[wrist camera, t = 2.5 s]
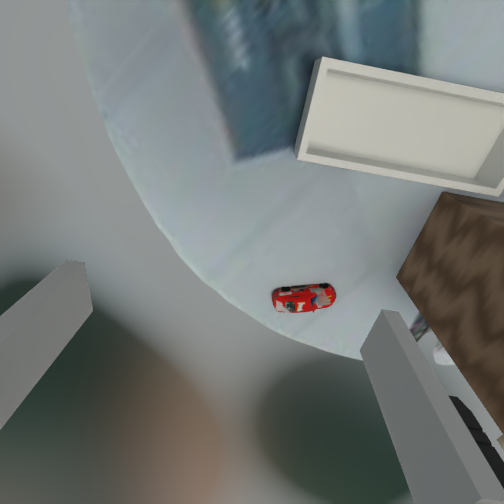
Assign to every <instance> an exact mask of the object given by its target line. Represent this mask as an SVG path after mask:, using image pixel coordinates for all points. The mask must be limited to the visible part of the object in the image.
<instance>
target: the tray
mask: <svg viewBox="0 0 504 504" xmlns="http://www.w3.org/2000/svg"><path fill="white" fill-rule="evenodd" d="M294 153H295V156H296V158H297V160H302V161H308V162H313V163H319V164H324V165H329V166H335V167H340V168H346V169H351V170H356V171H362V172H367V173H373V174H378V175H384V176H389V177H394V178H400V179H405V180H411V181H416V182H422V183H427V184H432V185H438V186H443V187H449V188H454V189H459V190H465V191H470V192H476V193H481V194H487V195H492V196H497V197H499V195H500V194H501V192H502V191H503V189H504V93H499V92H494V91H489V90H484V89H479V88H474V87H469V86H464V85H459V84H454V83H450V82H445V81H440V80H435V79H430V78H425V77H420V76H415V75H410V74H405V73H400V72H395V71H391V70H386V69H381V68H376V67H371V66H366V65H361V64H356V63H351V62H346V61H341V60H336V59H332V58H327V57H321V58H319V59H317V60H315V62H314V66H313V70H312V75H311V79H310V83H309V87H308V92H307V96H306V100H305V104H304V109H303V113H302V117H301V121H300V126H299V130H298V134H297V138H296V143H295V147H294Z"/></svg>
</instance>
